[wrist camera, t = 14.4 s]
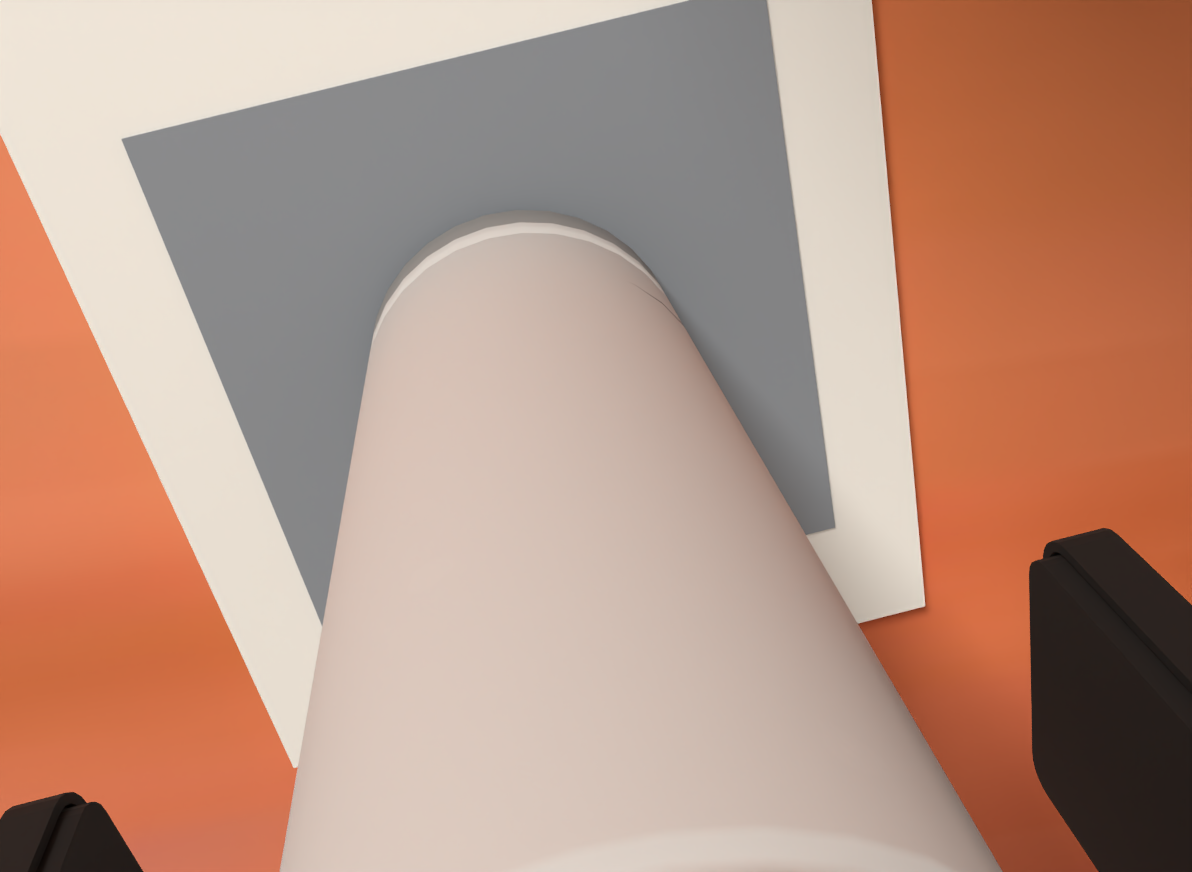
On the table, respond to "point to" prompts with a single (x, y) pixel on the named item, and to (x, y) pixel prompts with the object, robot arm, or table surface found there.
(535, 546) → the travel mug
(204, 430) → the card
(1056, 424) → the table surface
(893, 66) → the table surface
